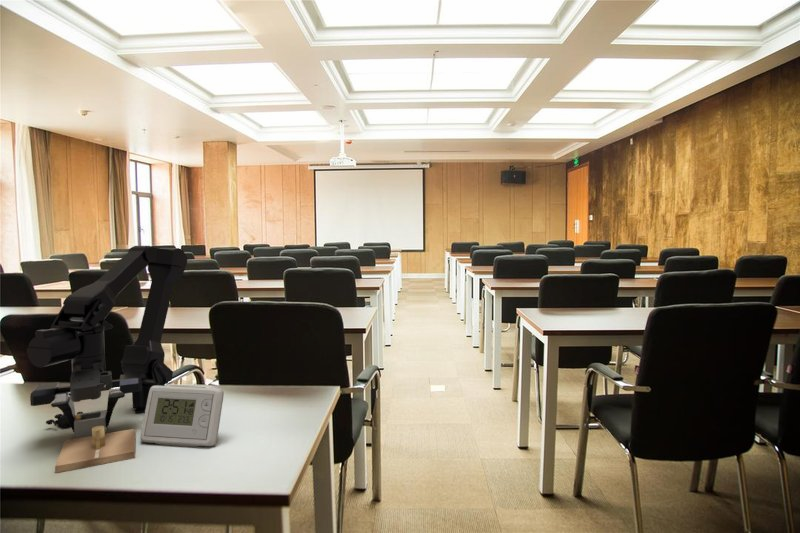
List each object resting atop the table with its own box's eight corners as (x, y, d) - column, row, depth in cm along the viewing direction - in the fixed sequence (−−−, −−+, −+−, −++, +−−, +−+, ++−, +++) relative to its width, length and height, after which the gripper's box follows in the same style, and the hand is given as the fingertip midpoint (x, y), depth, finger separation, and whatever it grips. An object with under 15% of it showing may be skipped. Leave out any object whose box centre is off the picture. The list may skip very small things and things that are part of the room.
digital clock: (135, 443, 94) (133, 391, 93) (170, 426, 102) (169, 378, 102) (201, 456, 89) (199, 400, 88) (232, 437, 97) (231, 386, 96)
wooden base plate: (135, 434, 98) (134, 411, 98) (134, 457, 88) (133, 433, 87) (65, 446, 92) (64, 422, 92) (55, 473, 82) (54, 446, 82)
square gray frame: (107, 428, 101) (106, 406, 101) (105, 436, 97) (104, 414, 97) (77, 432, 99) (77, 411, 99) (74, 442, 94) (73, 419, 94)
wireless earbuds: (52, 428, 99) (42, 415, 101) (51, 438, 99) (41, 425, 102) (89, 417, 105) (79, 406, 107) (87, 427, 105) (77, 415, 108)
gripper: (22, 370, 85) (26, 454, 86) (140, 357, 94) (142, 434, 95) (34, 356, 95) (38, 432, 96) (140, 346, 104) (142, 416, 105)
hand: (91, 429), depth 98 cm, fingers closed on square gray frame, 5 cm apart
